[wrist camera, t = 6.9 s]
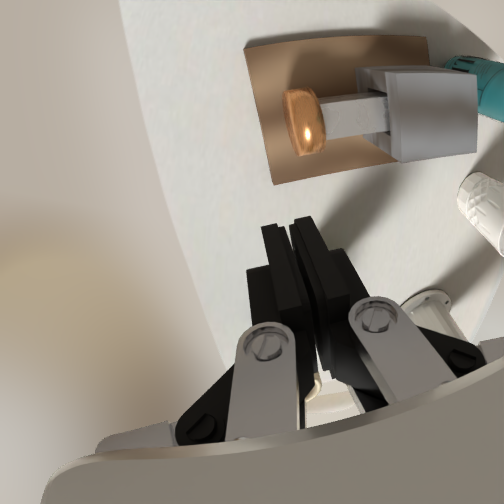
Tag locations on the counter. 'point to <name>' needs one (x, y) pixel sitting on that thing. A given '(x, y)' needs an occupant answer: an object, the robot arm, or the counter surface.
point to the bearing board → (324, 83)
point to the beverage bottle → (484, 83)
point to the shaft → (331, 117)
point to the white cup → (484, 207)
